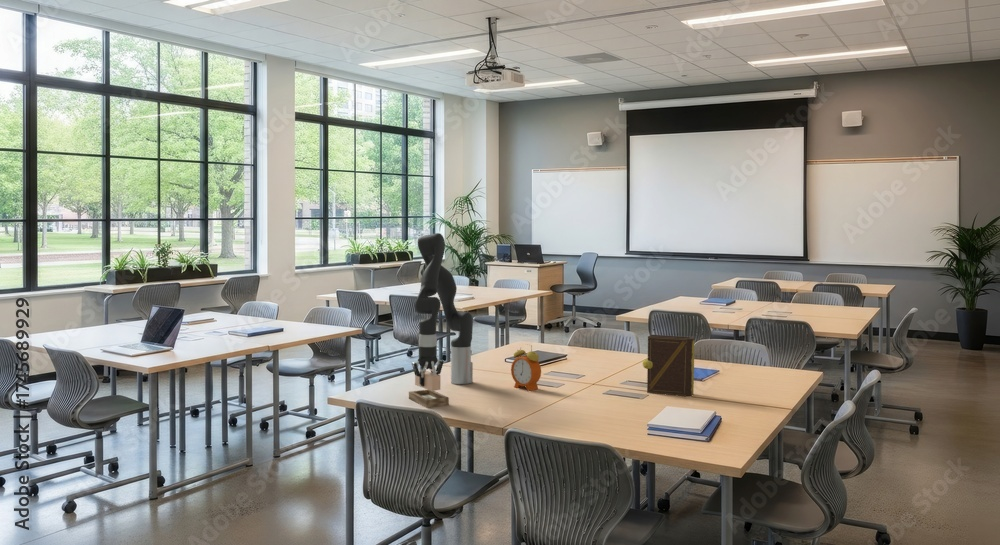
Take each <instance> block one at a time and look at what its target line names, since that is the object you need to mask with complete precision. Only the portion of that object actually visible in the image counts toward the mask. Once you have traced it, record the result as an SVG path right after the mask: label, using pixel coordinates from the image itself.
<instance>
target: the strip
mask: <svg viewBox="0 0 1000 545" xmlns="http://www.w3.org/2000/svg"><path fill="white" fill-rule="evenodd" d="M418 370H419V373H420V369H418ZM414 382H415V383H414V385H415V386H417V387H419V388H423V389H424V390H431V391H435V392H436V391H440V390H441V374H435V373H432V372H431V371H428V370H426V372H425V374H424V386H421V385H420V383H419V377H418V376H416V375H415V374H414Z"/></svg>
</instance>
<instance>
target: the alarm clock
mask: <svg viewBox="0 0 1000 545" xmlns="http://www.w3.org/2000/svg"><path fill="white" fill-rule="evenodd" d="M526 345H529V344H526ZM532 348H533V346H532V345H531V344H530V349H531V350H530V351H528V352H527V353H526V351H525V350H524V349H522V348H520V349H517V350H516V351H515V352H514V353H513V358H514V360H513V361H512V363H511V366H510V367H511V368H510V373H511V374H510V375H511V378H512V380H513V381H514V382H515V383H514V386H513V388H514V389H519V388H523V387H525V388H526V391H531V392H532V391H534V390H535V391H536V390H539V386H538V384H537V383H538V382H539V381H540V380H541V379H540V378H541V376H542V367H541V365H540V362H539V359H540V357H539V354H538V353H537V352H536V351H533V349H532Z"/></svg>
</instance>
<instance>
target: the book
mask: <svg viewBox="0 0 1000 545" xmlns="http://www.w3.org/2000/svg"><path fill="white" fill-rule="evenodd" d="M642 366H643V368H644V369H647V373H646V374H647V375H646V376H647V378H646V380H647V381H646V384H647V386H646V389H647V391H646V393H648V394H654V395H655V394H657V395H665V394H666V395H667V396H676V395H678V396H679V397H686V396H691V397H693V396H694V393H695V392H694V389H695V388H694V381H695V375H694V374H695V337H693V336H683V335H682V336H679V335H667V334H666V335H664V334H650V335H648V336H647V358H645V359H643V360H642ZM692 395H693V396H692ZM678 396H677V397H678Z"/></svg>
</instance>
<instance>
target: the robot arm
mask: <svg viewBox="0 0 1000 545" xmlns="http://www.w3.org/2000/svg"><path fill="white" fill-rule="evenodd" d="M417 247H418V250H419V253H420V255H421V257H422V259H423V261H424V262H425V263H424V264H425V265H426V268H425V269H424V270H423V273H422V275H421V282H420V289H419V293H418V294H417V297H416V300H415V302H414V310H415V312H416V313H417V314H418V315H419V314H420V315H422V314H423V315H431V316H430V317H429V318H425V319H421V320H420V321H419V322H418V323H419V324H418V325H419V326H418V327H419V330H418V331H419V332H418V359H417V361H414V362H411V366H412V368H413V369H412V370H413V373H414V376H415V375H416V376H418V377H419V383H420V385H421V386H424V374H425V372H426V371H427V370H429V372H432V373H435V374H438V375H441V372H442V370H443V369H442V368H443V366H444V360H442V359H438V357H437V356H438V353H437V352H438V351H437V350H438V349H437V348H438V340H437V339H438V338H437V320H438V316H439V313H440V311H441V310H440V309H441V306H442V310H443V315H444V318H445V321H446V324H447V326H448V329H449V330H451V331H453V332H459V336H458V337H456V338H452V339H451V341H450V356H451V357H450V365H451V366H450V370H451V371H450V373H451V374H450V376H451V377H450V379H451V380H450V382H451V384H452V385H453V384H454V385H468V384H471V383H473V382H474V381H473V379H474V377H473V375H474V372H473V370H474V369H473V368H474V363H473V362H472V340H473V328H474V327H473V326H474V321H473V320H474V318H473V316H472V314H471V312H468V311H458V310H457V308H456V305H455V302H454V300H455V297H456V294H457V284H456V282H455V279H454V276H453V274H452V273H451V272H450V270H448V269H447V268H446V267H444V265H442V263H443V260H444V254H445V250H446V241H445V238H444V236H443V235H442V233H438V232H437V233H430V234H424V235H421V236H420V237H418V238H417ZM436 294H437V295H438V297H436ZM436 364H437V365H436ZM419 366H420V367H419ZM419 370H420V373H419Z"/></svg>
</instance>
